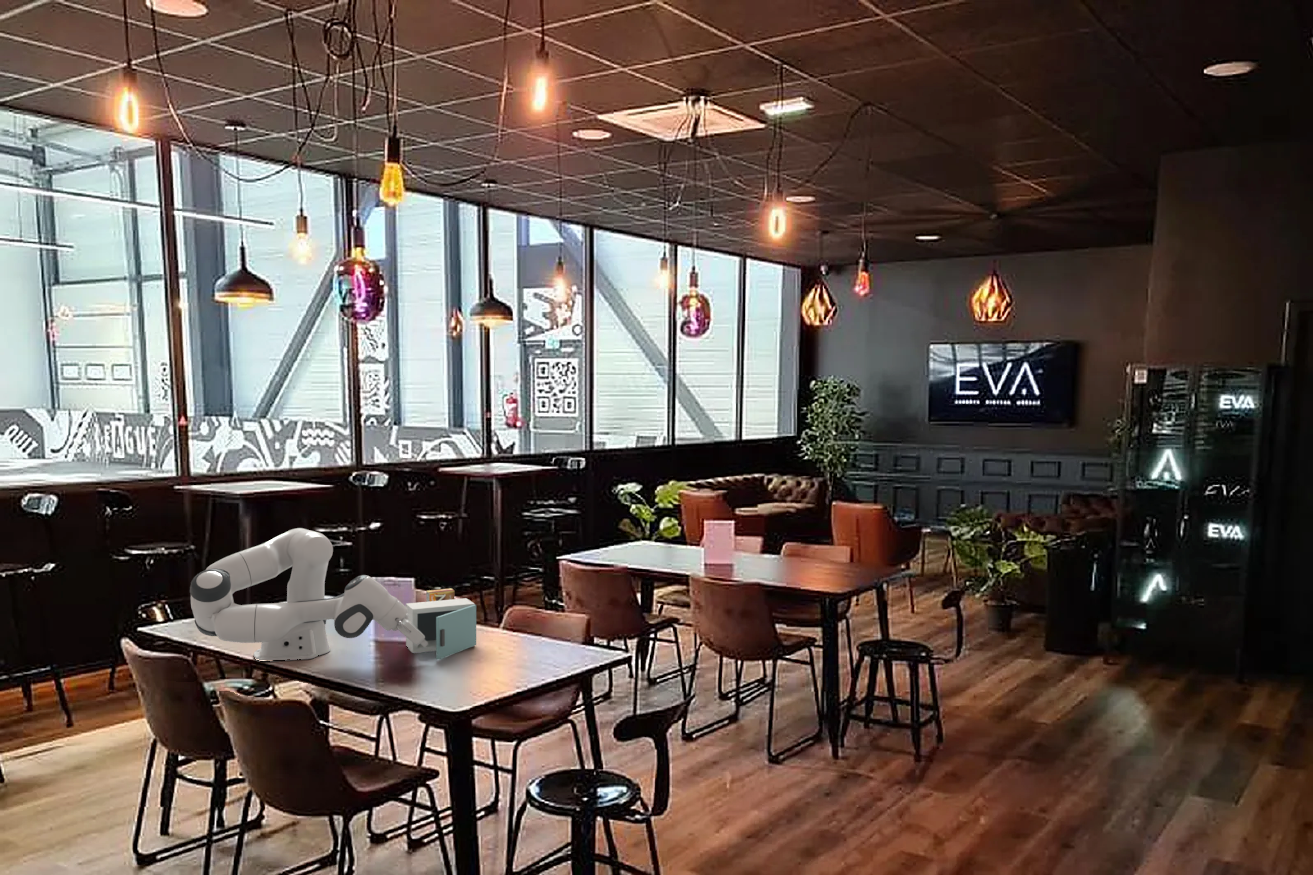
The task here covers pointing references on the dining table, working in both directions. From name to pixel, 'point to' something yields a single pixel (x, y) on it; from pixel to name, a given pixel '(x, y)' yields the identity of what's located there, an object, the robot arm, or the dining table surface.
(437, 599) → the candy box
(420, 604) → the case
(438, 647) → the door
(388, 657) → the dining table surface
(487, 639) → the dining table surface
